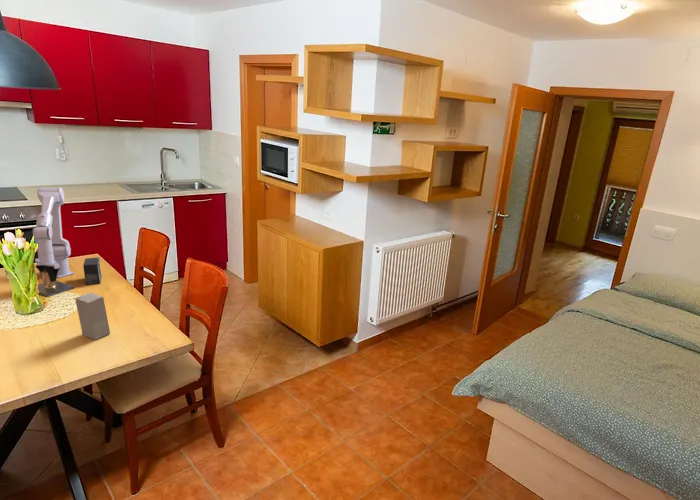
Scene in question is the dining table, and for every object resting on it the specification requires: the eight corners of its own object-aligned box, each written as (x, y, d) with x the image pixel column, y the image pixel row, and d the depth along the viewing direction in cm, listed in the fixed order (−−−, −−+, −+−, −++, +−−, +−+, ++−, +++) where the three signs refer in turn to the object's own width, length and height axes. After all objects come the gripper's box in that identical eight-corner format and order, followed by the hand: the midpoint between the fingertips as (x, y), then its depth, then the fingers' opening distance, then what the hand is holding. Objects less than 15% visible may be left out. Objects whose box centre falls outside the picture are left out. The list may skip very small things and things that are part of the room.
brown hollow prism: (41, 283, 204) (39, 271, 202) (51, 280, 208) (50, 268, 206) (48, 285, 202) (46, 273, 200) (58, 282, 206) (56, 270, 204)
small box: (87, 277, 221) (84, 257, 218) (101, 276, 224) (99, 256, 221) (85, 285, 212) (82, 264, 209) (100, 283, 215) (98, 263, 212)
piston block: (27, 289, 203) (25, 279, 202) (53, 281, 214) (52, 272, 212) (48, 296, 198) (46, 286, 196) (74, 288, 208) (72, 278, 207)
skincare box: (110, 334, 170) (106, 296, 165) (92, 341, 164) (87, 302, 159) (97, 328, 174) (93, 290, 169) (79, 335, 168) (74, 296, 163)
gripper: (26, 251, 200) (30, 279, 204) (46, 257, 194) (50, 286, 198) (42, 247, 206) (46, 275, 210) (62, 253, 200) (66, 281, 204)
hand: (49, 280), depth 204 cm, fingers closed on brown hollow prism, 5 cm apart
